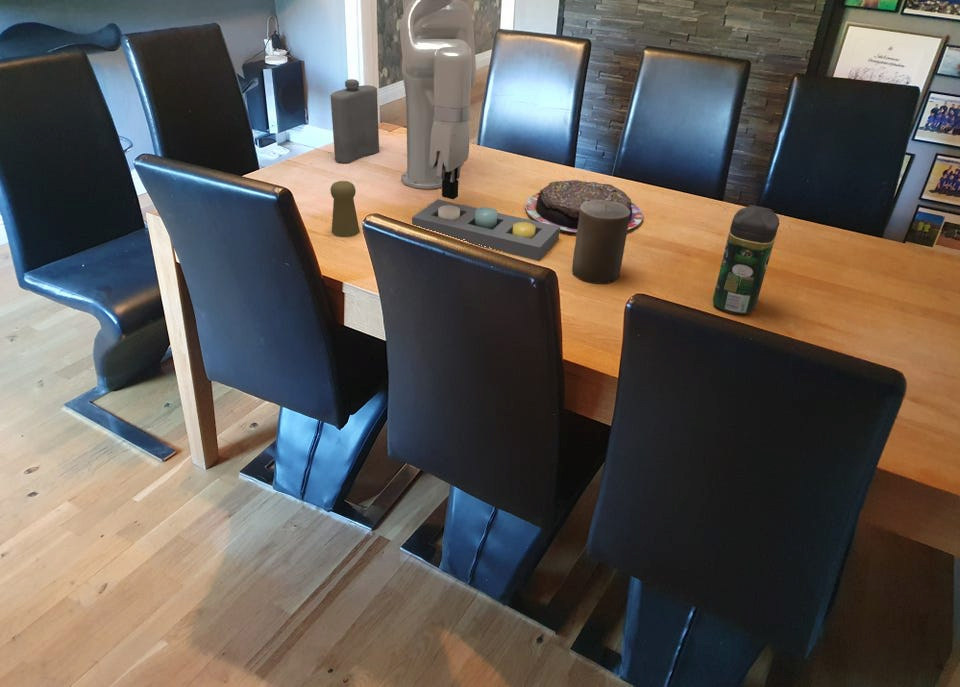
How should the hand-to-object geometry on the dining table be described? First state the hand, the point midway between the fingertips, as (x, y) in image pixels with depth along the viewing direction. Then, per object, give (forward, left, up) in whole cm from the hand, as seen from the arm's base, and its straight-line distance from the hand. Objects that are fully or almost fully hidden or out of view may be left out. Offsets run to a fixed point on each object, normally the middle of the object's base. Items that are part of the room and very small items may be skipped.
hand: (449, 197), depth 156 cm
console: (0, +9, -7) cm, 11 cm away
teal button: (0, +9, -5) cm, 10 cm away
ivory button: (0, 0, -6) cm, 6 cm away
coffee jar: (+4, +63, -7) cm, 63 cm away
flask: (-28, -43, -7) cm, 52 cm away
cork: (+14, -18, -7) cm, 24 cm away
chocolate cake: (-23, +24, -7) cm, 34 cm away
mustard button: (0, +18, -6) cm, 19 cm away
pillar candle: (+5, +36, -7) cm, 37 cm away
